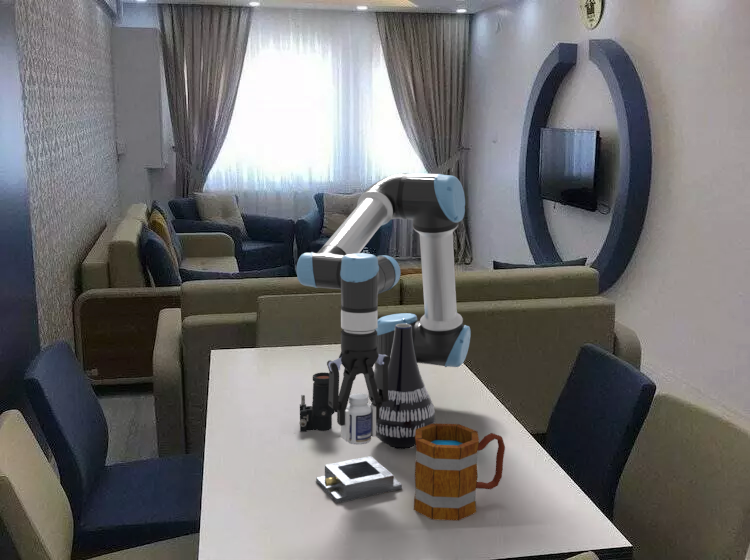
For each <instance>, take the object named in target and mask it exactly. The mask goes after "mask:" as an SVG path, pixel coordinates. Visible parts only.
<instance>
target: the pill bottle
mask: <svg viewBox="0 0 750 560" xmlns="http://www.w3.org/2000/svg"><path fill="white" fill-rule="evenodd" d="M348 403H349V404H347V408H346V409H347V410H349V411H350V429H349V441H347V443H349V444H351V445H365V444H368V443H370V442H371V440H372V436H371V407H370V406H369V405H368V403H369V394H366V393H364V392H363V393H362V392H357V393H352V394H351V393H350V396H349V400H348Z"/></svg>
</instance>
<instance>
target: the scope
mask: <svg viewBox="0 0 750 560" xmlns="http://www.w3.org/2000/svg"><path fill="white" fill-rule="evenodd" d="M312 382H313V383H312V401H311V402H312V403H311V405H307V404H306V395H305V394H301V395H300V400H301V402H300V404H299V432H300V433H306V432H308V431H320V432H326V431H327V432H328V431H331V430H332V428H333V426H332V425H333V423H332V422H333V418H332V416H333V415H334V414H335V413H337V410H334V409H333V408H331V407H330V406H329V405H328V396H329V372H316V373H314V374H313V375H312Z"/></svg>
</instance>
